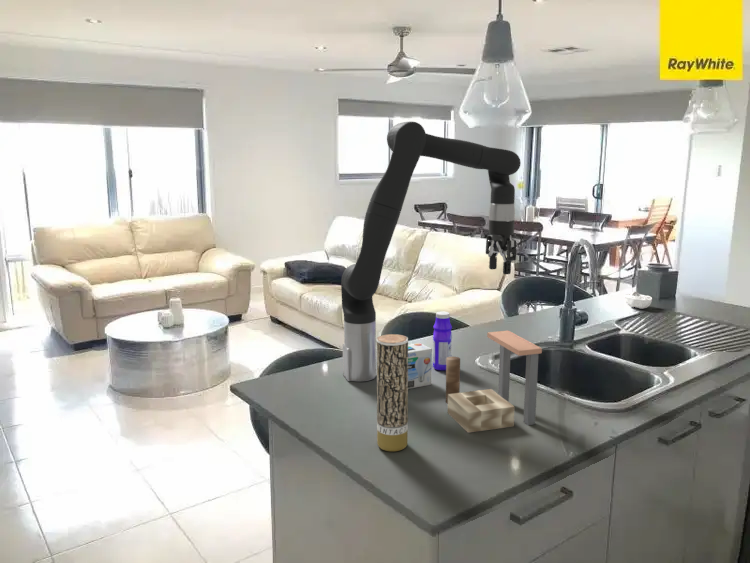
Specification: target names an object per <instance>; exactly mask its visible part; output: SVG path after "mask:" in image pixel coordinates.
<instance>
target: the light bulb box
mask: <svg viewBox="0 0 750 563" xmlns="http://www.w3.org/2000/svg"><path fill="white" fill-rule="evenodd" d="M432 368H433V348H431V347H429V346H427V345H425V344H423V343H421V342H417V343H410V344H408V390H409V389H414V388H420V387H425V386H430V385H432Z"/></svg>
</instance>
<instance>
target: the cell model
mask: <svg viewBox="0 0 750 563" xmlns="http://www.w3.org/2000/svg"><path fill="white" fill-rule="evenodd" d="M624 299H625V303H626V304H627V306H628V307H631V308H634V307H635V309H641V310H642V309H647V308H648V307H649V306H650V305H651V304H652V300H653V297H652V296H650V295H645V294H641V293H639V292H638V291H633V292H631V293H628V294H625V295H624Z"/></svg>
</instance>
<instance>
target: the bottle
mask: <svg viewBox="0 0 750 563" xmlns="http://www.w3.org/2000/svg"><path fill="white" fill-rule="evenodd" d="M450 315H451V314H450V312H448V311H445V310H443V311H441V310H440V311H437V312H436V313H435V322H434V325H433V329H434V330H433V336H432V340H433V341H432V343H433V344H432V346H433V347H432V368H433V369H434V370H437V371H446V358H447V357H452V339H453V333H452V329H453V326H452V324H451V321H450V320H451V319H450Z"/></svg>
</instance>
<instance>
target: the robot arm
mask: <svg viewBox="0 0 750 563" xmlns="http://www.w3.org/2000/svg"><path fill="white" fill-rule="evenodd" d="M386 143H387V147H388V148H389V150H390V151H391V153H392V154H391V156H390V159H389V163H388V166H387V169H386V170H385V172H384V173H383V176H382V177H381V179H380V181H379V182H378V183H377V186H376V187H375V189H374V190H373V191H372V192H373V193H371V194H372V195H371V198H370V200H369V203H368V204H367V205H368V206H367V208H366V213H365V216H364V221H363V229H362V230H363V231H362V241H361V242H362V243H361V247H360V252H359V254H358V257H357V260H356V262H355V263H353V264H351V265H348V266H347V267H346V268H345V269H344V271H343V273H342V275H341V278H340V279H341V283H340V284H341V285H340V287H341V290H340V291H341V309H342V313H343V333H344V334H343V337H344V338H343V339H344V341H343V343H342V375H343V377H344V378H345V380H346V381H347V382H368V381H371V380H374V379H375V378H377V335H376V334H377V331H376V329H377V322H376V321H377V319H376V318H377V317H376V309H375V305H374V302H373V297H374V295H375V293H376V292H377V290H378V287H379V285H380V280H381V274H382V271H383V267H384V261H385V259H386V255H387V251H388V249H389V247H390V244H391V241H392V239H393V235H394V232H395V229H396V227H397V224H398V222H399V218H400V216H401V212H402V209H403V205H404V203H405V199H406V196H407V193H408V190H409V186H410V183H411V179H412V176H413V173H414V170H416V167H417V165H418V162H419V160H420V158H421V157H427V158H432V159H437V160H441V161H444V162H447V163H452V164H455V165H459V166H462V167H466V168H471V169H475V170H485V171H487V174H488V180H489V186H490V205H489V211H488V213H489V214H488V215H489V216H488V234H489V235H486V239H485V255H487V256H488V258H489V260H488V261H489V262H488V263H489V264H488V268H489V270H497V265H498V263H497V262H498V255H500V256H501V257H502V259H503V264H502V273H503V275H511V270H512V262H513V261H516V260H517V240H516V239H511V236H513V235H514V234H515V217H516V216H515V214H516V210H515V199H516V198H515V195H516V192H515V191H516V189H515V185H513V184H512V183H511V182H510V181H511V180H510V176H511V175H514V174H515V173H517V172H518V171H519V169H520V167H521V159H520V156H519V155H518V154H517V153H516V152H514V151H512V150H508V149H503V148H498V147H497V148H496V147H489V146H486V145H483V144H479V143H476V142H473V141H472V142H471V141H469V140H463V139H462V140H461V139H456V138H449V137H443V136H442V137H441V136H437V135H434V134H433V135H432V134H430V133H426V131H425V128H424V127H423V125H422V124H420V123H418V122H417V121H404V122H400V123H397V124H395V125H394V126H392V127H391V128H390V129H389V130H388V132H387V135H386Z"/></svg>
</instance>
